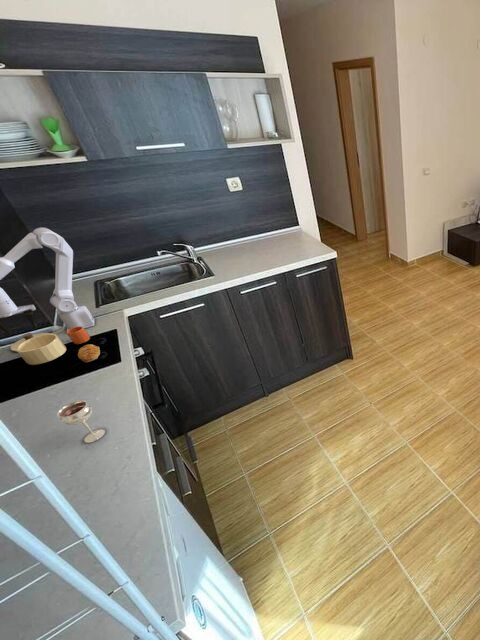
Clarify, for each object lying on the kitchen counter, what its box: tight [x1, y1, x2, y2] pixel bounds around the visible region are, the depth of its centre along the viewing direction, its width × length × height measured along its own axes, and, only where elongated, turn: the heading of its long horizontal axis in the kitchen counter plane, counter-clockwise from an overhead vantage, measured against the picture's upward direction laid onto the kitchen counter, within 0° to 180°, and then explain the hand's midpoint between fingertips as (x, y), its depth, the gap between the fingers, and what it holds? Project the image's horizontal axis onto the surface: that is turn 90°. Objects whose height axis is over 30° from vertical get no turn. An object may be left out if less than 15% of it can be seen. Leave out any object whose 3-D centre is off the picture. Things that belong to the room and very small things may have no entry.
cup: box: [66, 326, 91, 345], centre depth 148 cm, size 5×6×6 cm
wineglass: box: [56, 399, 106, 444], centre depth 103 cm, size 7×7×12 cm
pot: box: [15, 333, 67, 366], centre depth 139 cm, size 12×12×6 cm
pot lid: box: [9, 332, 51, 353], centre depth 146 cm, size 13×13×4 cm
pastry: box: [77, 343, 101, 364], centre depth 138 cm, size 9×7×4 cm
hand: (23, 330), depth 144 cm, fingers open, 7 cm apart
